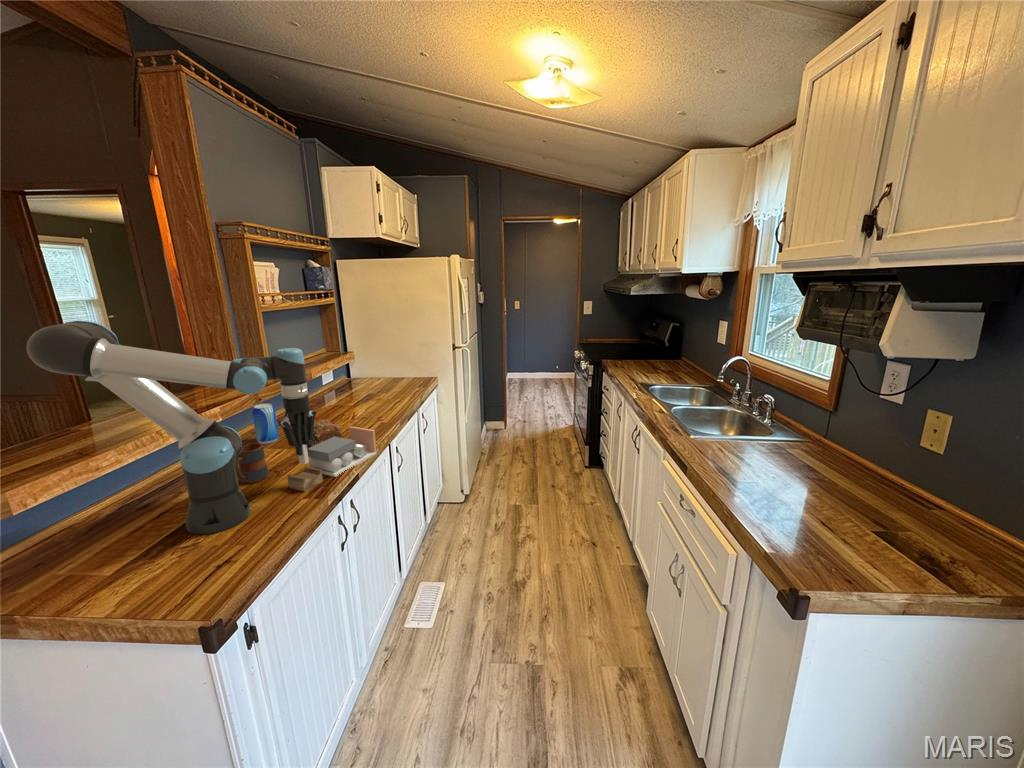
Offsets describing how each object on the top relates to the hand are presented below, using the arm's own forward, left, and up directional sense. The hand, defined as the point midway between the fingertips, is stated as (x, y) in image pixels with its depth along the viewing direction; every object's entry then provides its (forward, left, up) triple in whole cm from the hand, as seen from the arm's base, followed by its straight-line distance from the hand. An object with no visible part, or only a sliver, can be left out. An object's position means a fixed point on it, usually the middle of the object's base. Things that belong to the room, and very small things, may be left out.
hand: (304, 462), depth 138 cm
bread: (+28, +21, -8) cm, 36 cm away
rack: (-1, -1, -8) cm, 8 cm away
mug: (-6, +19, -8) cm, 21 cm away
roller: (+22, 0, -4) cm, 23 cm away
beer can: (+22, +46, -8) cm, 52 cm away
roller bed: (+18, 0, -8) cm, 19 cm away
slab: (+12, 0, -1) cm, 12 cm away
